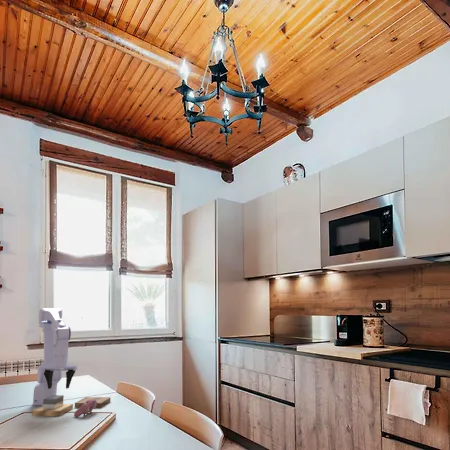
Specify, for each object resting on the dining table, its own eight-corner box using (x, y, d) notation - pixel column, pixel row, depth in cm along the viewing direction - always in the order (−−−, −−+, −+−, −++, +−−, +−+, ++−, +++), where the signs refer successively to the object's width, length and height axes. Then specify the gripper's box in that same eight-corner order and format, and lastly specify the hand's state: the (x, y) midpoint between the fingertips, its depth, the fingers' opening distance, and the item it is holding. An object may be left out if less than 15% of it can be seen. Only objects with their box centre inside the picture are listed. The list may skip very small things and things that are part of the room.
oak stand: (31, 415, 171) (32, 410, 171) (46, 408, 183) (46, 403, 183) (59, 416, 170) (60, 410, 171) (72, 408, 182) (72, 404, 182)
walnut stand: (74, 407, 184) (74, 402, 184) (85, 401, 196) (85, 397, 196) (100, 407, 183) (101, 403, 183) (110, 401, 195) (110, 397, 195)
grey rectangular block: (42, 409, 173) (43, 399, 174) (51, 404, 181) (52, 395, 182) (54, 409, 173) (54, 399, 174) (63, 405, 181) (63, 395, 181)
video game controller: (81, 421, 167) (89, 405, 168) (72, 415, 168) (80, 399, 169) (93, 415, 177) (100, 400, 177) (85, 410, 178) (92, 394, 179)
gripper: (40, 356, 178) (37, 390, 175) (74, 356, 178) (72, 389, 176) (47, 354, 185) (44, 387, 182) (79, 354, 185) (77, 386, 182)
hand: (58, 388), depth 179 cm, fingers open, 7 cm apart
